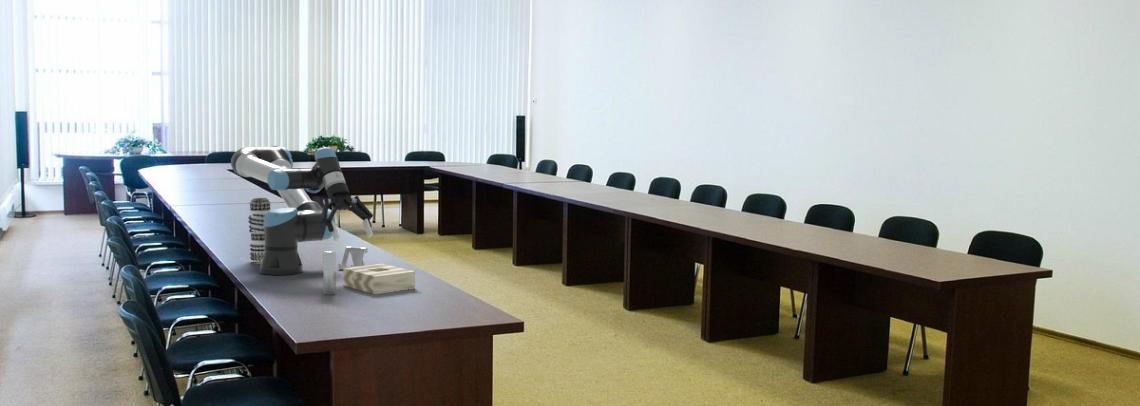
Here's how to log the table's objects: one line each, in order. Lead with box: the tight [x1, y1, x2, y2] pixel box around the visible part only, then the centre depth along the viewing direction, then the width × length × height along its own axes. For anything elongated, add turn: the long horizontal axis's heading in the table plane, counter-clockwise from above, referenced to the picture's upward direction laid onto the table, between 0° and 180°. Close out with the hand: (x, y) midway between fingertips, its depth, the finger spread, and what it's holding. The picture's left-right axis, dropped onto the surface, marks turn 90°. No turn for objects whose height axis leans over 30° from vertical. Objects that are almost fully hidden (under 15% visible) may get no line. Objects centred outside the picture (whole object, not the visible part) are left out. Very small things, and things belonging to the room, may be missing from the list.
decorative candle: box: [247, 197, 272, 263], centre depth 373 cm, size 9×9×25 cm
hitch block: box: [342, 263, 416, 295], centre depth 327 cm, size 20×16×6 cm
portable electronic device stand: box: [337, 245, 369, 271], centre depth 361 cm, size 9×8×8 cm
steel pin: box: [322, 250, 337, 296], centre depth 314 cm, size 4×4×14 cm
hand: (354, 237), depth 340 cm, fingers open, 13 cm apart
